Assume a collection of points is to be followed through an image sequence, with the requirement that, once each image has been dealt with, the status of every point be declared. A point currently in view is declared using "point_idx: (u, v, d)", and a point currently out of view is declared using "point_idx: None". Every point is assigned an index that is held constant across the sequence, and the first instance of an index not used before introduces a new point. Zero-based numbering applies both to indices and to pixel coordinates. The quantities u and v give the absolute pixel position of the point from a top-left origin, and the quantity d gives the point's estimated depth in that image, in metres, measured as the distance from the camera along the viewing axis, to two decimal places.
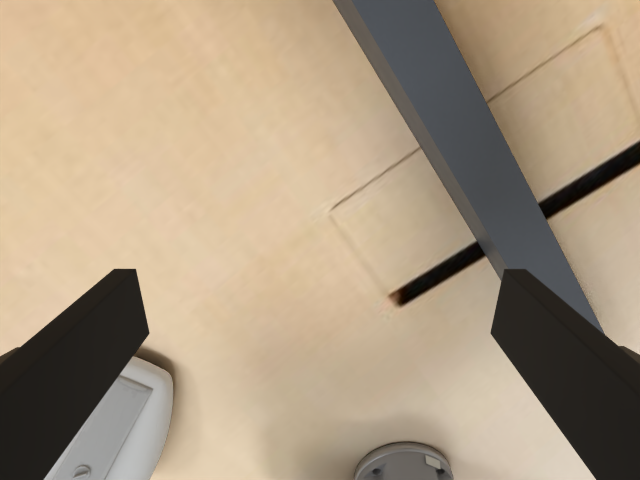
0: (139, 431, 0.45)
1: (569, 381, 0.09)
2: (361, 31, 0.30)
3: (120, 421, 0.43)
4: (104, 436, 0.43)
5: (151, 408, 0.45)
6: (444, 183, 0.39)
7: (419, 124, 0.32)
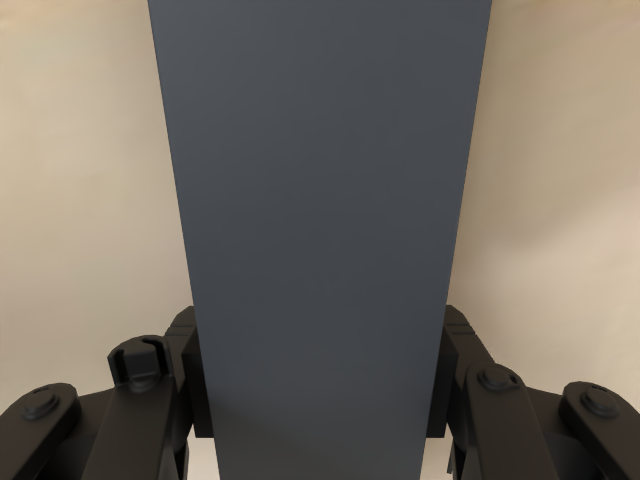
0: None
1: None
2: None
3: None
4: None
5: None
6: None
7: None
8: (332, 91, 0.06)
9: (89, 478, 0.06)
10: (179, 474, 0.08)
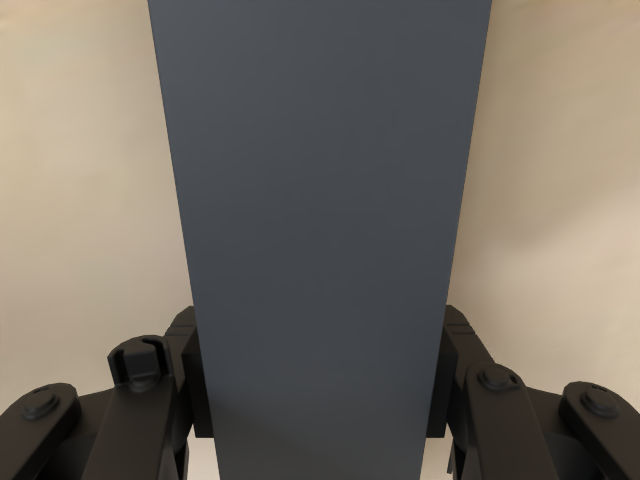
0: None
1: None
2: None
3: None
4: None
5: None
6: None
7: None
8: (332, 91, 0.06)
9: (89, 478, 0.06)
10: (179, 474, 0.08)
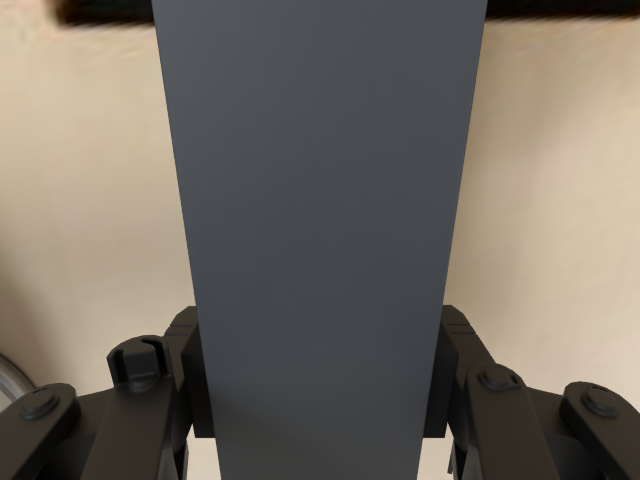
0: None
1: None
2: None
3: None
4: None
5: None
6: None
7: None
8: (331, 90, 0.06)
9: (88, 478, 0.06)
10: (178, 474, 0.08)
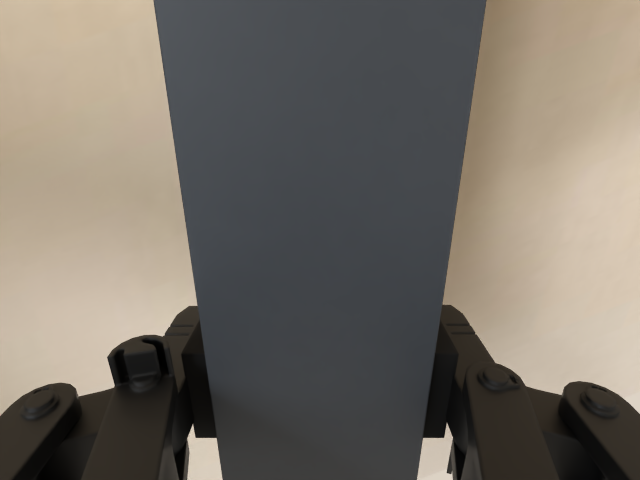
0: None
1: None
2: None
3: None
4: None
5: None
6: None
7: None
8: (332, 89, 0.06)
9: (89, 478, 0.06)
10: (179, 474, 0.08)
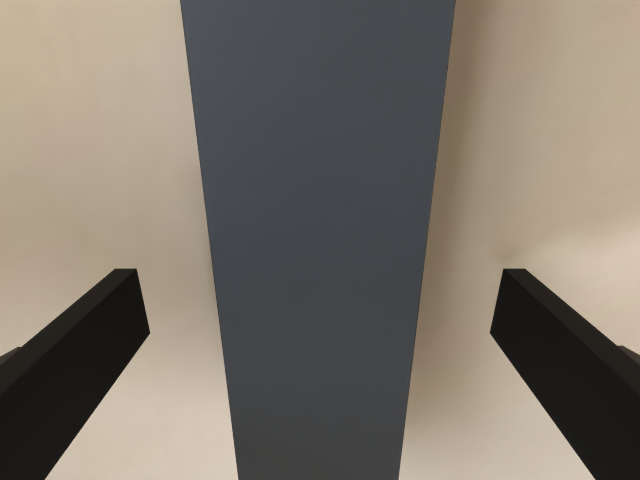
0: None
1: (567, 380, 0.09)
2: None
3: None
4: None
5: None
6: None
7: None
8: (328, 71, 0.07)
9: None
10: None
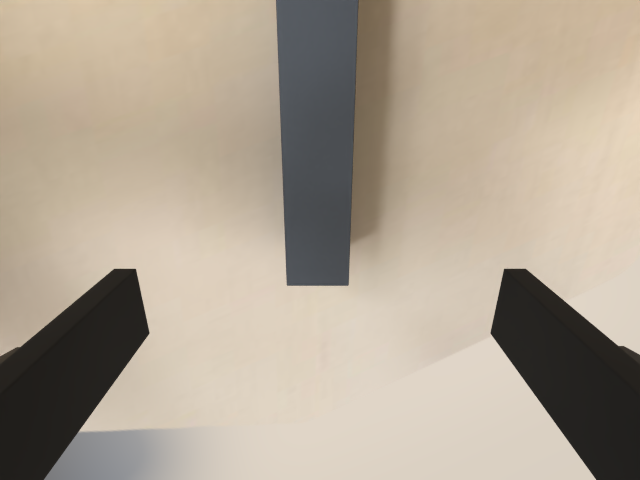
0: None
1: (569, 381, 0.09)
2: None
3: None
4: None
5: None
6: None
7: None
8: (320, 89, 0.24)
9: None
10: None
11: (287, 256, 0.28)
